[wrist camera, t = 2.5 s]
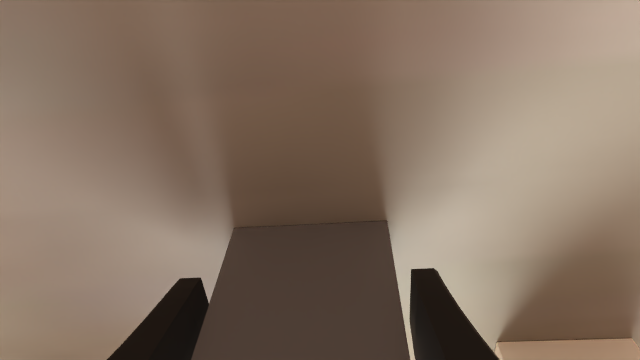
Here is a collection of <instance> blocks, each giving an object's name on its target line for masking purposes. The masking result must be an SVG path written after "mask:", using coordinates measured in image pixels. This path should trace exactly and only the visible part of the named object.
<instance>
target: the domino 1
mask: <svg viewBox="0 0 640 360" xmlns="http://www.w3.org/2000/svg"><path fill="white" fill-rule="evenodd" d="M191 360H410V356H409V350H408V344H407V338H406V332H405V326H404V320H403V314H402V308H401V302H400V296H399V290H398V284H397V278H396V272H395V266H394V260H393V254H392V248H391V241H390V235H389V229H388V223H387V221H372V222H351V223H330V224H310V225H289V226H269V227H248V228H234V230H233V233H232V236H231V239H230V242H229V245H228V248H227V251H226V254H225V257H224V260H223V264H222V267H221V270H220V273H219V276H218V279H217V282H216V285H215V288H214V291H213V294H212V297H211V300H210V303H209V306H208V309H207V313H206V316H205V319H204V322H203V325H202V328H201V331H200V334H199V337H198V340H197V343H196V346H195V349H194V352H193V355H192V358H191Z"/></svg>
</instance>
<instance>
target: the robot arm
mask: <svg viewBox="0 0 640 360" xmlns="http://www.w3.org/2000/svg"><path fill="white" fill-rule="evenodd" d="M208 306H209V303H208V299H207V296H206V293H205V290H204V287H203V283H202V280H201V278H181V279H179V280H178V281H177V283H176V284H175V285H174V286H173V287H172V288H171V289H170V290H169V292H168V293H167V294H166V295H165V296H164V297H163V299H162V300H161V301H160V302H159V303H158V304H157V306H156V307H155V308H154V309H153V310H152V311H151V312H150V314H149V315H148V316H147V317H146V318H145V319H144V320H143V322H142V323H141V324H140V325H139V326H138V327H137V328H136V329H135V330H134V332H133V333H132V334H131V335H130V336H129V337H128V338H127V339H126V340H125V341H124V343H123V344H122V345H121V346H120V347H119V348H118V349H117V350H116V351H115V352H114V353H113V354H112V355H111V356H110V357H109V358H108V359H107V360H191V358H192V355H193V352H194V349H195V346H196V343H197V340H198V337H199V334H200V331H201V328H202V325H203V322H204V319H205V316H206V313H207V309H208ZM410 326H411V334H412V341H413V348H414V355H415V359H416V360H500V359H499V358H498V357H497V356H496V354H495V353H494V352H493V351H492V350H491V348H490V347H489V346H488V345H487V343H486V342H485V341H484V340H483V338H482V337H481V336H480V335H479V333H478V332H477V330H476V329H475V328H474V326H473V325H472V324H471V322H470V321H469V320H468V318H467V317H466V316H465V314H464V313H463V311H462V310H461V309H460V307H459V306H458V304H457V303H456V301H455V300H454V298H453V297H452V295H451V294H450V292H449V290H448V289H447V287H446V286H445V284H444V282H443V280H442V279H441V277H440V275H439V273H438V272H437V271H436V270H435V269H434V268H429V269H411V293H410Z"/></svg>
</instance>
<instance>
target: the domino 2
mask: <svg viewBox="0 0 640 360" xmlns="http://www.w3.org/2000/svg"><path fill="white" fill-rule="evenodd" d="M495 354H496V356H497V357H498V358H499V359H500V360H640V349H639V348H638V346H637V345H636V343H635V342H634V341H633V339H632V338H627V339H591V340H554V341H518V342H497V343H496V348H495Z"/></svg>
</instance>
